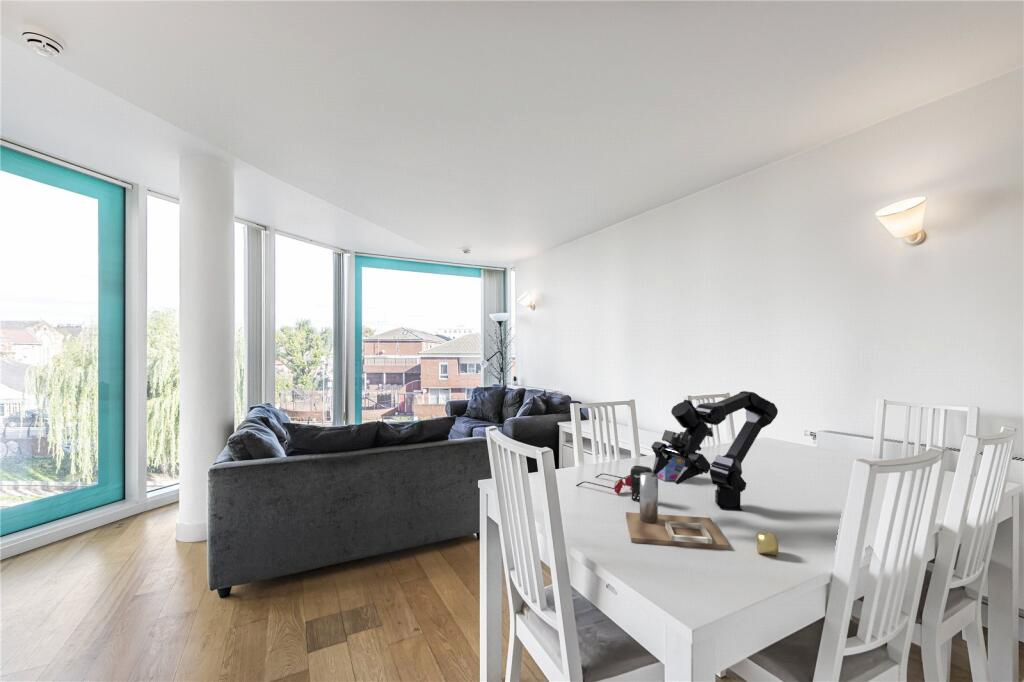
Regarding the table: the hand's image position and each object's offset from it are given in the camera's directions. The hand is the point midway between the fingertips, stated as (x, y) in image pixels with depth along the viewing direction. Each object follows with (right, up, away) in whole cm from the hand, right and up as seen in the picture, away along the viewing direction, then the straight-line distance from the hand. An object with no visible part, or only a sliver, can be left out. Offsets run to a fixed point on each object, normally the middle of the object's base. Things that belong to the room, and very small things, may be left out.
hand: (664, 478), depth 134 cm
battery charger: (-2, -12, +16) cm, 21 cm away
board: (0, -12, -7) cm, 14 cm away
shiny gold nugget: (+17, -10, -19) cm, 28 cm away
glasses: (-11, -13, +32) cm, 36 cm away
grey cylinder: (-5, -11, -2) cm, 13 cm away
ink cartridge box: (+16, -12, +42) cm, 46 cm away
